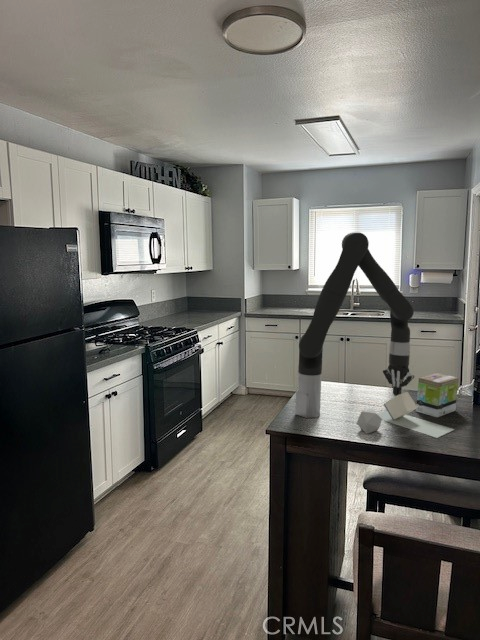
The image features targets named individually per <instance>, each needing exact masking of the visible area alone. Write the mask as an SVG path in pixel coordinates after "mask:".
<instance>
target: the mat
mask: <svg viewBox="0 0 480 640" xmlns="http://www.w3.org/2000/svg"><path fill="white" fill-rule="evenodd" d="M376 414H377V415H379V416H380V417H381V418H382V421H383V422H387V423H390V424H393V425H397V426H400V427H402V428H406V429H409V430H412V431H415V432H419V433H421V434H423V435H427V436H428V437H430V438H431V437H432V438H435V439H439V438H441V437H444V436H445V435H447V434H449V433H451V432H455V430H456V429H455V428H452V427H449V426H445V425H442V424H438V423H435V422H432V421H429V420H425V419H421V418H418V417H414V416H412V415H408V414H406V415H405V416H403V417H400V418H398V419H395V420H393V419H392V418H391V416H390V414H389V413H388V411H387V409H386V410H382V411H381V412H378V413H377V412H376Z"/></svg>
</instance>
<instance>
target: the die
mask: <svg viewBox="0 0 480 640" xmlns="http://www.w3.org/2000/svg"><path fill="white" fill-rule="evenodd" d="M382 421H383V420H382V418H381V417H380V416H379V415H377V412H376V411H374V410H373V409H372V408H369V409H365V410H362V411H361V412H360V413H359V416H358V419H357V420H356V425H357V426H358V427H359V428H360V429H361V430H362V431H363V432H364V433H366V434H367V435H368V434H371V433H374V432H375V433H376V432H377V431H378V430H380V427H381V424H382Z"/></svg>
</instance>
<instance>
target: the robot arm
mask: <svg viewBox="0 0 480 640" xmlns="http://www.w3.org/2000/svg"><path fill="white" fill-rule="evenodd" d="M341 241H342V242H341V248H342V250H341V253H340V256H339V259H338V261H337V264H336V265H335V268H334V269H333V270H332V272H331V273H330V275H329V276H328V278H327V279H326V282H325V283H324V285H323V287H322V289H321V292H320V294H319V296H318V298H317V302H316V303H315V304H316V305H315V308H314V311H313V314H312V318H311V320H310V323H309V325H308V327H307V329H306V331H305V333H304V334H303V335H302V336H301V337H300V338H299V339H300V340H299V342H298V351H299V352H298V356H299V357H298V370H297V371H298V372H297V376H298V377H297V390H296V391H295V410H294V411H295V413H294V414H295V415H297V416H299V417H303V418H305V419H310V418H318V417H319V416H320V415H321V396H322V375H323V374H322V372H323V370H322V369H323V353H324V352H323V348H324V347H323V346H324V344H325V339H326V337H327V336H328V331H329V329H330V327H331V326H332V324H333V322H334V320H335V319H336V317H337V315H338V313H339V311H340V309H341V307H342V306H343V304H344V301H345V299H346V297H347V295H348V292H349V288H350V287H351V285H352V281H353V278H354V275H355V274H356V271H357V269H358V267H359V268H360V270H361V271H362V272H363V273H364V275H365V277H366V278H367V279H368V281H369V282H370V284H371V285H372V287H373V288H374V290H375V291H376V292H377V294H378V296H379V297H380V298H381V300H382V301H383V302H385V303H386V304H387V305H388V307H389V308H390V310H389V311H390V312H389V319H390V327H391V330H390V331H391V332H390V343H389V352H388V353H389V355H388V366H387V368H386V369H383V370H382V374H383V375H384V376H385V378H386V380H387V382H388V384H390V385H392V386H393V387H392V394H393V396H394V397H395V396H397V395H399V394H402V388H403V387H406V386H408V385H409V384H410V382H411V381H412V380H413V379H414V378H415V375H414V374H412V373H411V372H410V368H409V366H410V356H411V355H410V353H411V351H410V350H411V346H410V344H411V343H410V342H411V329H410V327H409V320H411V319H412V318H413V316H414V311H415V309H414V308H413V306H412V303H410V302H409V301H410V300H408V299H407V298H406V297H405V296H404V294H402V292H401V291H400V290H399V288H398V287H397V285H396V284H395V283H394V281H393V280H392V278H391V277H390V276H389V274H388V273H387V272H386V271H385V270H384V269H383V268H382V267H381V265H379V263H378V262H377V261H376V259H375V258H374V256H373V255H372V253H371V252H370V250H369V244H370V242H369V239H368V237H367V236H366V235H365V234H364V233H362V232H359V231H354V232H349V233H347V234H346V235H345V236H343V239H342V240H341ZM405 378H406V379H405Z"/></svg>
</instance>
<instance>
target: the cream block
mask: <svg viewBox="0 0 480 640" xmlns="http://www.w3.org/2000/svg"><path fill="white" fill-rule="evenodd" d="M409 393H410V392H408V391H406V392H401V394H399V395H397V396H394V397H392V398H390V399H389V400H388V401H386V402H384V403H383V407H384V408H385V409H386V410H387V411H388V413H389V414H390V416H391V418H392V419H393V420H395V419H398V418H400V417H403V416H405V415H408V414H410V413H411V412H413V411H414V410H415V411H416V408H418V407H417V406H416V403H415V401H414V399H413V398H412V397H411V395H410V394H409Z"/></svg>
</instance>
